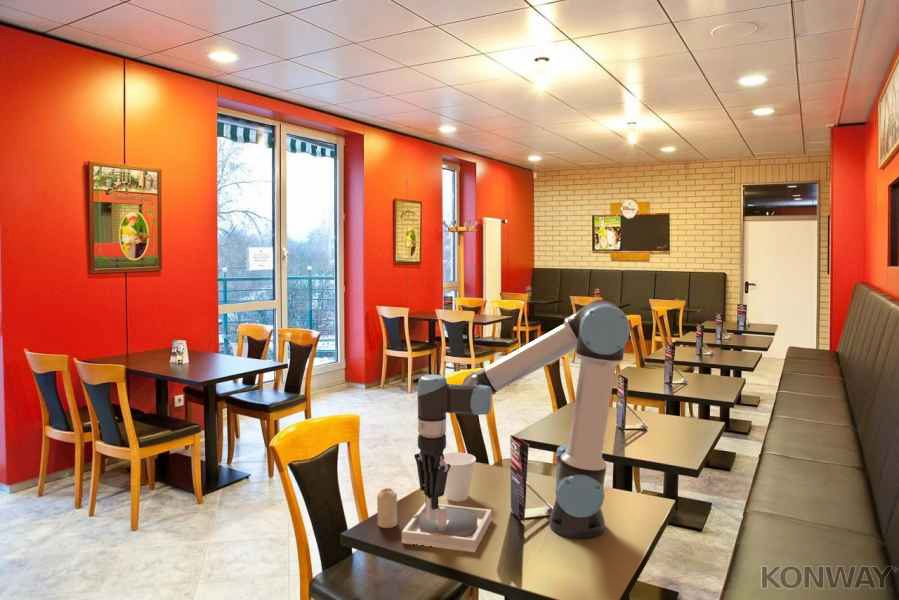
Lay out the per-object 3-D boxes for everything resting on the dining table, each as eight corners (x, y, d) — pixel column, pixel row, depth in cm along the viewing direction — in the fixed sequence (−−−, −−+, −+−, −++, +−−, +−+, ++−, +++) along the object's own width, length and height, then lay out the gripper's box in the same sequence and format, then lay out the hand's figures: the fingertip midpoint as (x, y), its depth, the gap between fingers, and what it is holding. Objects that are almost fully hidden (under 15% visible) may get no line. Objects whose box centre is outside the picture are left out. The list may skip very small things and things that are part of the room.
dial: (428, 512, 194) (428, 485, 193) (482, 517, 190) (482, 490, 189) (411, 536, 179) (411, 507, 178) (470, 542, 175) (470, 513, 174)
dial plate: (491, 520, 191) (491, 508, 191) (474, 552, 172) (474, 539, 172) (425, 512, 197) (425, 501, 196) (401, 543, 178) (401, 530, 177)
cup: (476, 504, 202) (476, 465, 201) (437, 504, 203) (437, 465, 201) (475, 489, 214) (475, 452, 213) (438, 489, 214) (438, 452, 213)
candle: (394, 529, 186) (393, 494, 185) (375, 527, 187) (374, 493, 186) (399, 520, 191) (398, 487, 190) (381, 519, 193) (380, 485, 192)
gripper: (406, 430, 179) (406, 514, 182) (435, 442, 169) (435, 531, 172) (428, 425, 184) (428, 507, 187) (458, 436, 174) (458, 523, 176)
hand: (431, 518), depth 179 cm, fingers closed
